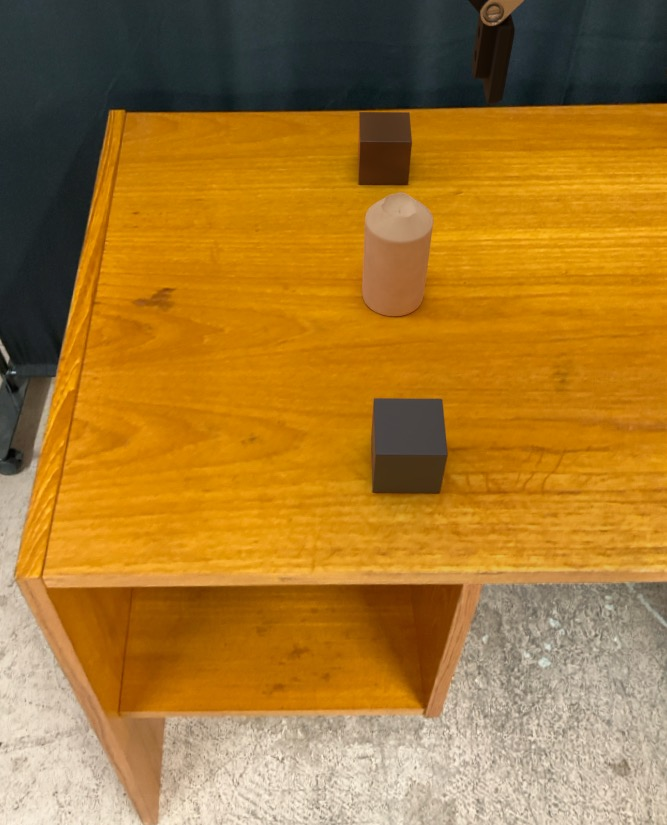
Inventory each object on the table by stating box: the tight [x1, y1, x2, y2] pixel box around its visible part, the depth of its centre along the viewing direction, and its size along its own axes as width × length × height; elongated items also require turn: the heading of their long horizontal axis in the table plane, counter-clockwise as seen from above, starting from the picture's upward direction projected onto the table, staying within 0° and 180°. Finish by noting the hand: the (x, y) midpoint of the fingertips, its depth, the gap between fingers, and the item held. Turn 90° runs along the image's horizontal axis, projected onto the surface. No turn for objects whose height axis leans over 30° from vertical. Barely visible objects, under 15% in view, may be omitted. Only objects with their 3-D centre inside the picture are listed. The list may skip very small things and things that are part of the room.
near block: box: [370, 397, 449, 494], centre depth 60 cm, size 5×5×5 cm
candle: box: [361, 192, 434, 317], centre depth 69 cm, size 6×6×10 cm
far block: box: [357, 111, 413, 186], centre depth 82 cm, size 5×5×5 cm
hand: (584, 90), depth 42 cm, fingers open, 9 cm apart
